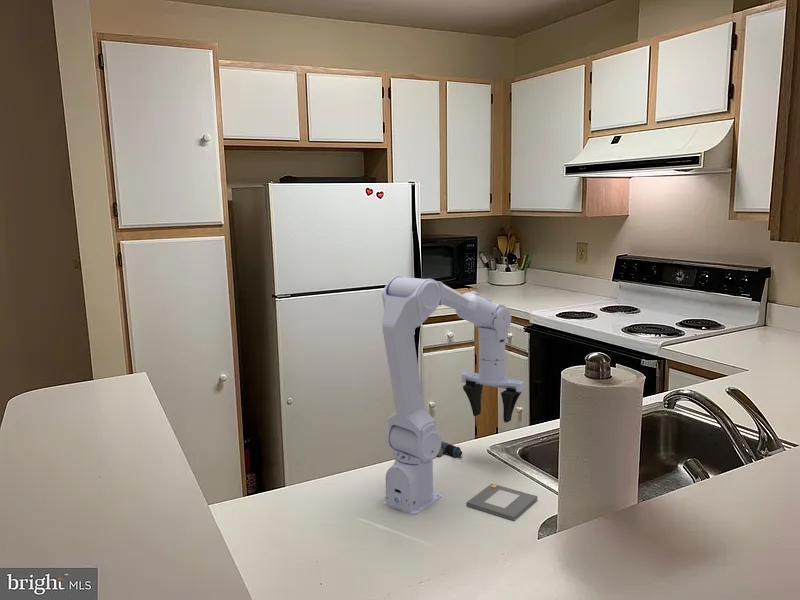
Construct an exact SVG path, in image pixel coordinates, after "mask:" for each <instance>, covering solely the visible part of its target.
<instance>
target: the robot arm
mask: <svg viewBox="0 0 800 600" xmlns="http://www.w3.org/2000/svg"><path fill="white" fill-rule="evenodd" d="M381 295H382V296H381V297H382V302H383V303H382V304H383V310H384V311H383V317H382V334H383V341H384V346H385V352H386V358H387V366H388V371H389V377H390V384H391V389H392V394H393V395H392V396H393V400H394V407H395V411H394V412H393V413H392V414H391V415H390V416H389V417H388V418H387V424H388V428H387V435H386V441H387V444H388V446H389V447H390V449H392V450H393V451H392V454H393V455H394V457H395V459H394V462H393V464H392V465H391V466H390V467H389V468H388V469H387V470H386V473H385V500H383V501H382V505H383V506H387V507H389V508H392V509H395V510H398V511H401V512H404V513H407V514H410V515H413V516H415V515H418V514H419V513H421V512H422V511H424V510H425V509H426V508H429V507H430V506H431V505H433V504H434V503H436V502H437V501H439V500H440V499H441V498H443V495H442V494H441V493H437V492H434V463H433V460H435V459H436V457H438V456H437V454H438V453H439V450H440V448H441V441H442V436H441V433H440V432H439V430H438V429H437V426H436V420H435V419H434V418H433V417H432V415H431V414H430V413H429V412H428V411H427V410H426V409H425V404H424V398H423V390H422V385H421V384H422V383H421V378H420V377H421V375H420V371H419V363H418V356H417V350H416V342H415V335H414V331H415V330H416V328H419V327H421V326H422V324H423V323H425V321H427V319H428V318H429V317H430V316H431V315H432V314H433V313H434V312H435V311H436V310H437V308H438V307H440V306H445V307H448V308H451V309H453V310H455V313H456V315H457V317H458V318H459V319H462V320H464V321H466V322H470V323H471V324H473V325H474V326H475V328H476V329H478V372H469V371H467V372H466V371H464V372H462V373H461V375H460V376H461V380H460V381H461V383H465V384H463V386H462V390H463V392H464V393H465V395H466V396H467V399H468V400H469V404H470V407H471V412H472V415H473V417H477V416H479V415H480V414H481V412H482V411H481V410H482V393H483V386H489V387H492V388H493V387H494V388H500V389H503V391H500V396H501V400H502V406H503V417H502V418H503V419H502V420H503V422H504V423H509V422H510V421H512V417H513V413H514V409H515V406H516V404H517V402H518V399H519V398H520V396H521V394H522V392H523V391H524V390H525V380H524V381H523V380H518V379H515V378H512V377H508V376H506V339H507V338H508V335H509V328H510V325H511V323H512V315H511V313H510V310H509V309H508V307H506V305H504V304H498V303H494V302H493V300H492V299H491V298H488V297H487V298H484V297H482V296H480V292H478V291H475V290H471V291H468V292H467V291H466V292H464V293H461V292H458V291H457V290H455V289H454V288H451V287H450V286H448V285H446V284H445V283H443V282H442V281H440V280H439V281H438V280H435V279H433V278H416V277H408V276H407V277H405V276H401V275H395V276H393V277H391V278H390V279H389V280H388V282H387V283H386V285H385V286H384V288H383V290H382V291H381ZM504 389H505V390H504Z"/></svg>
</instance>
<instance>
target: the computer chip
mask: <svg viewBox="0 0 800 600" xmlns="http://www.w3.org/2000/svg"><path fill="white" fill-rule="evenodd" d="M537 501H538V495H534V494H530V493H528V492H523V491H522V490H521V491H519V490H516V489H513V488H511V487H506V486H503V485H498V484H496V483H491V484H489V485H488V486H486V487H485V488H483V490H481V491H479V492H478V493H477V494H476V495H474V496H473V497H472V498H470V499H468V500H467V501H466V503H465V504H466V507H468V508H472V509H473V510H474V509H475V510H477V511H480V512H483V513H484V512H485V513H487V514H491V515H493V516H496V517H500V518H504V519H506V520H509V521H513V522H515V520H517V519H518V518H519V517H520V516H522V515H523V513H525V512H526V511H527V510H528V509H529V508H531V506H533V504H535V503H536V502H537Z"/></svg>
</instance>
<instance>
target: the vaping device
mask: <svg viewBox="0 0 800 600" xmlns="http://www.w3.org/2000/svg"><path fill="white" fill-rule="evenodd" d="M443 454H445V455H448V456H451V457H454V458H458V457H460V456H462V455H463V451H462V449H461V447H460V446H456V445H453V444H450V443H448V442H445V441H442V440H441V448H440V450H439V453H438V454H437V456H436V457H442V456H443Z"/></svg>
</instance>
